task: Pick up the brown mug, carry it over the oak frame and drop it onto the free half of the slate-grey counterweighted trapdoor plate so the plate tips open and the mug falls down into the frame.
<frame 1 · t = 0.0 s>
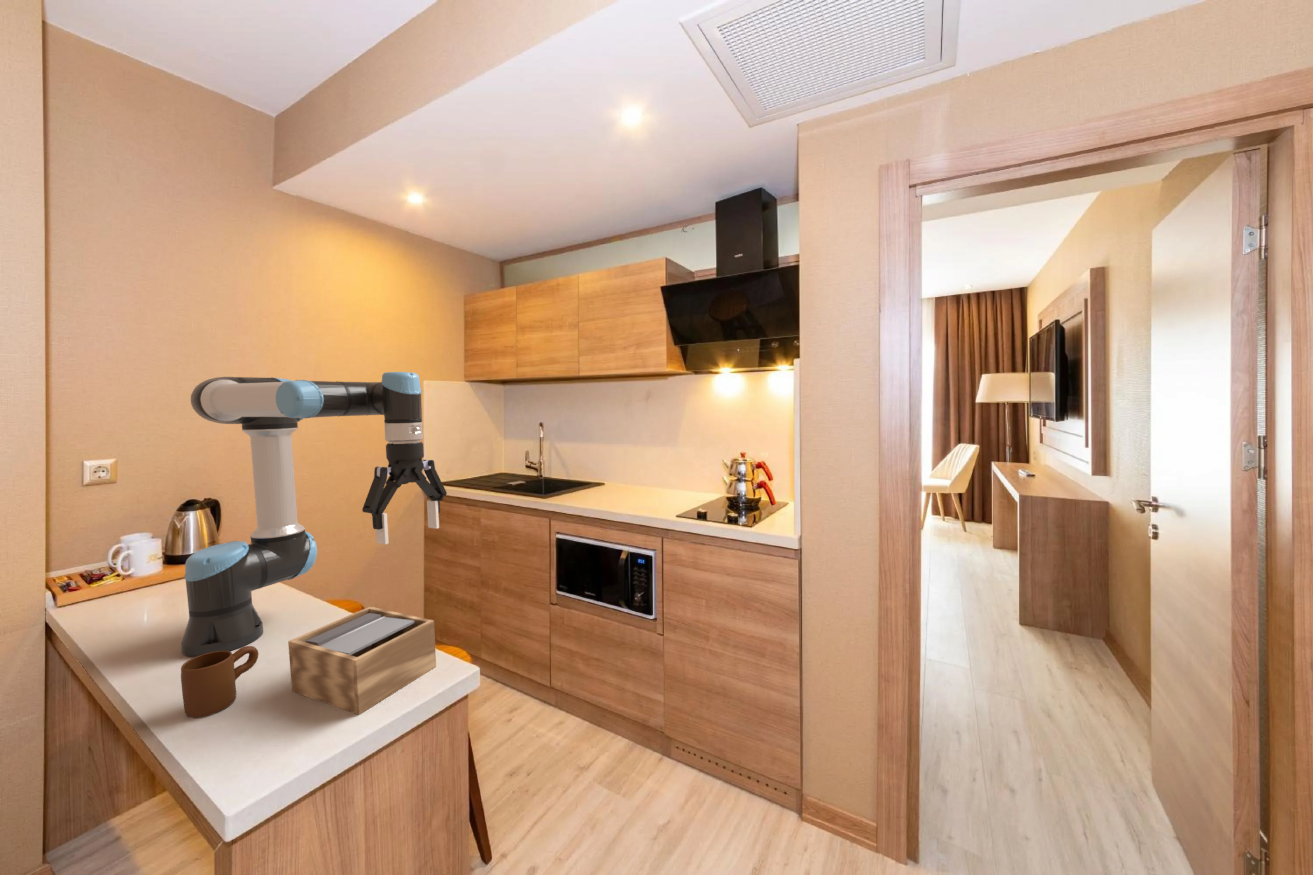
hand: (409, 535, 113), 28 cm above the counter, fingers open, 13 cm apart
mug: (225, 701, 98), on the counter
trapdoor: (361, 638, 105), point 9 cm above the counter, hinge at 4.0°
trapdoor frame: (366, 678, 106), on the counter
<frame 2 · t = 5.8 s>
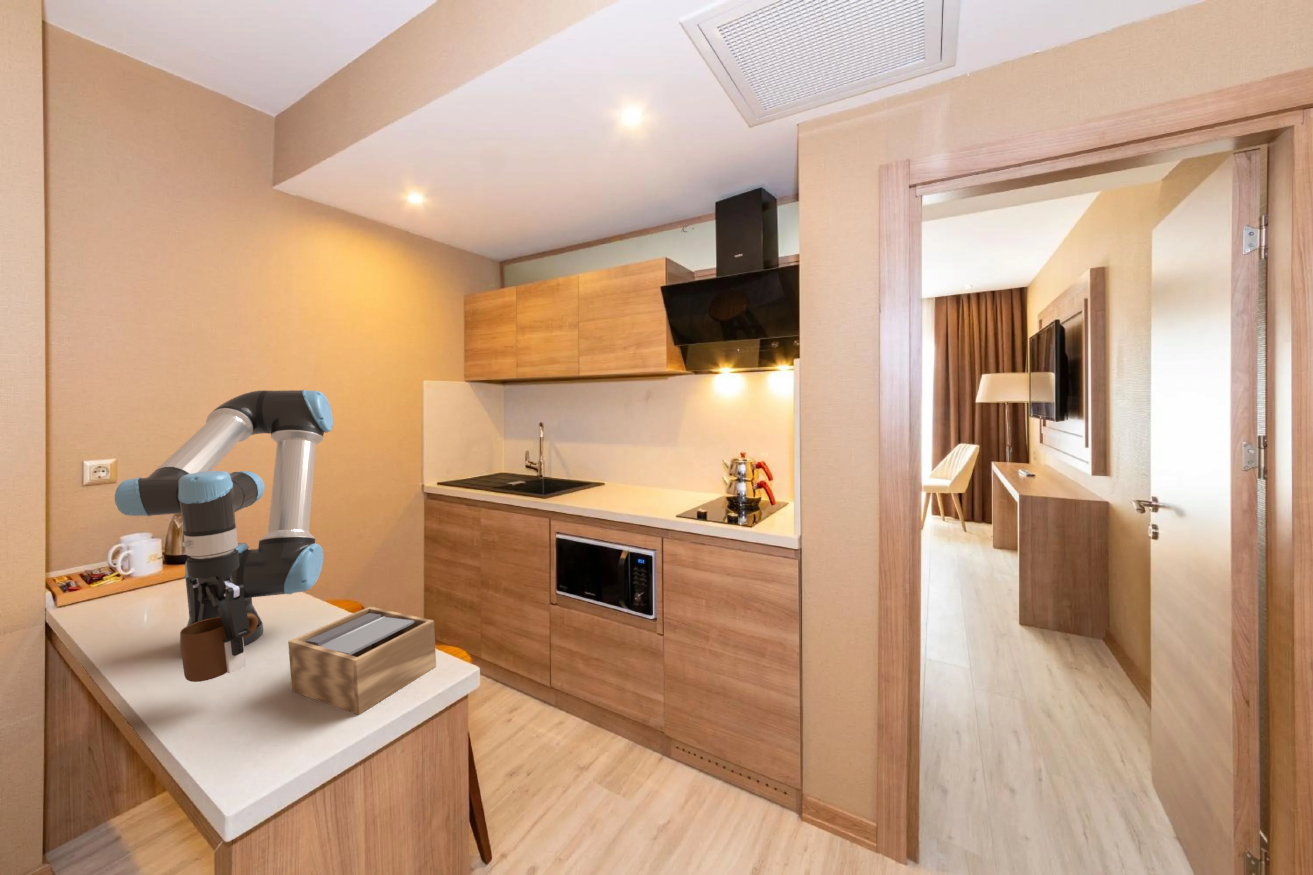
hand: (224, 664, 99), 7 cm above the counter, fingers closed on mug, 7 cm apart
mug: (225, 666, 99), point 6 cm above the counter, touching gripper
everything else where it was.
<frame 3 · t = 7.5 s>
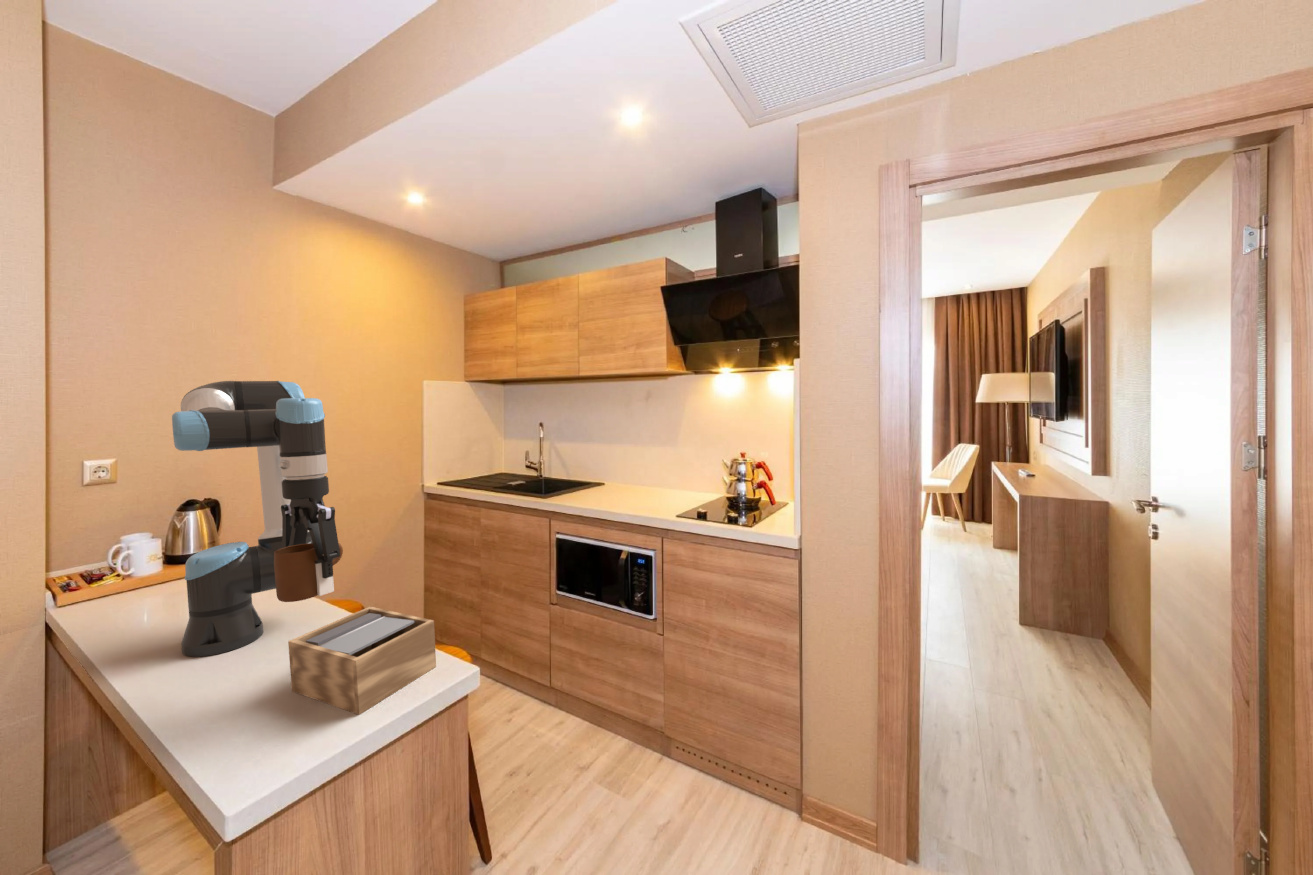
hand: (313, 590, 100), 21 cm above the counter, fingers closed on mug, 7 cm apart
mug: (313, 592, 100), point 20 cm above the counter, touching gripper
everything else where it was.
when the fingers open (12 cm above the counter, at t = 9.6 s): mug drops 5 cm, resting on trapdoor.
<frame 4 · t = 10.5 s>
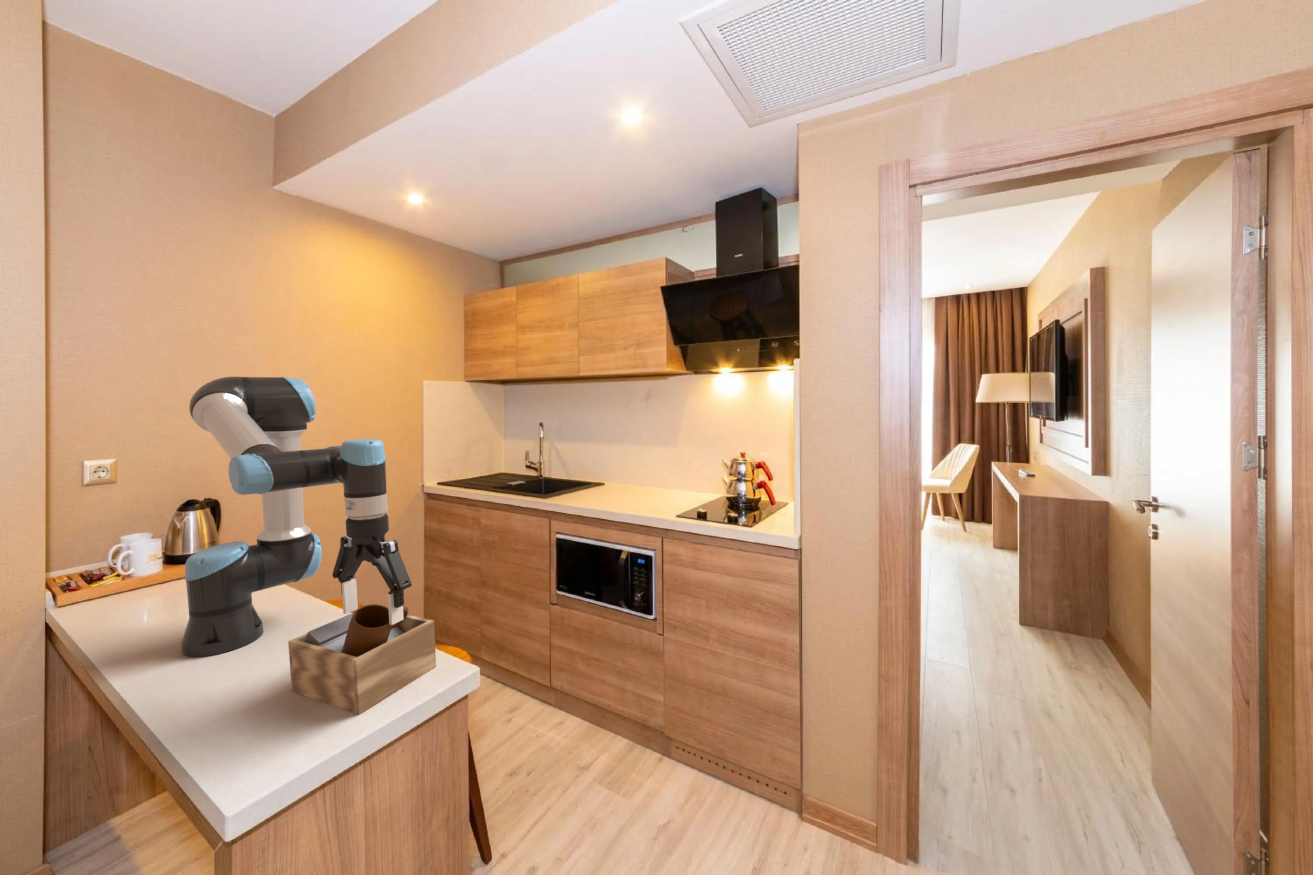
hand: (373, 616, 103), 14 cm above the counter, fingers open, 13 cm apart
mug: (372, 649, 104), point 7 cm above the counter, touching gripper, trapdoor
trapdoor: (359, 642, 106), point 7 cm above the counter, hinge at -24.9°, touching mug
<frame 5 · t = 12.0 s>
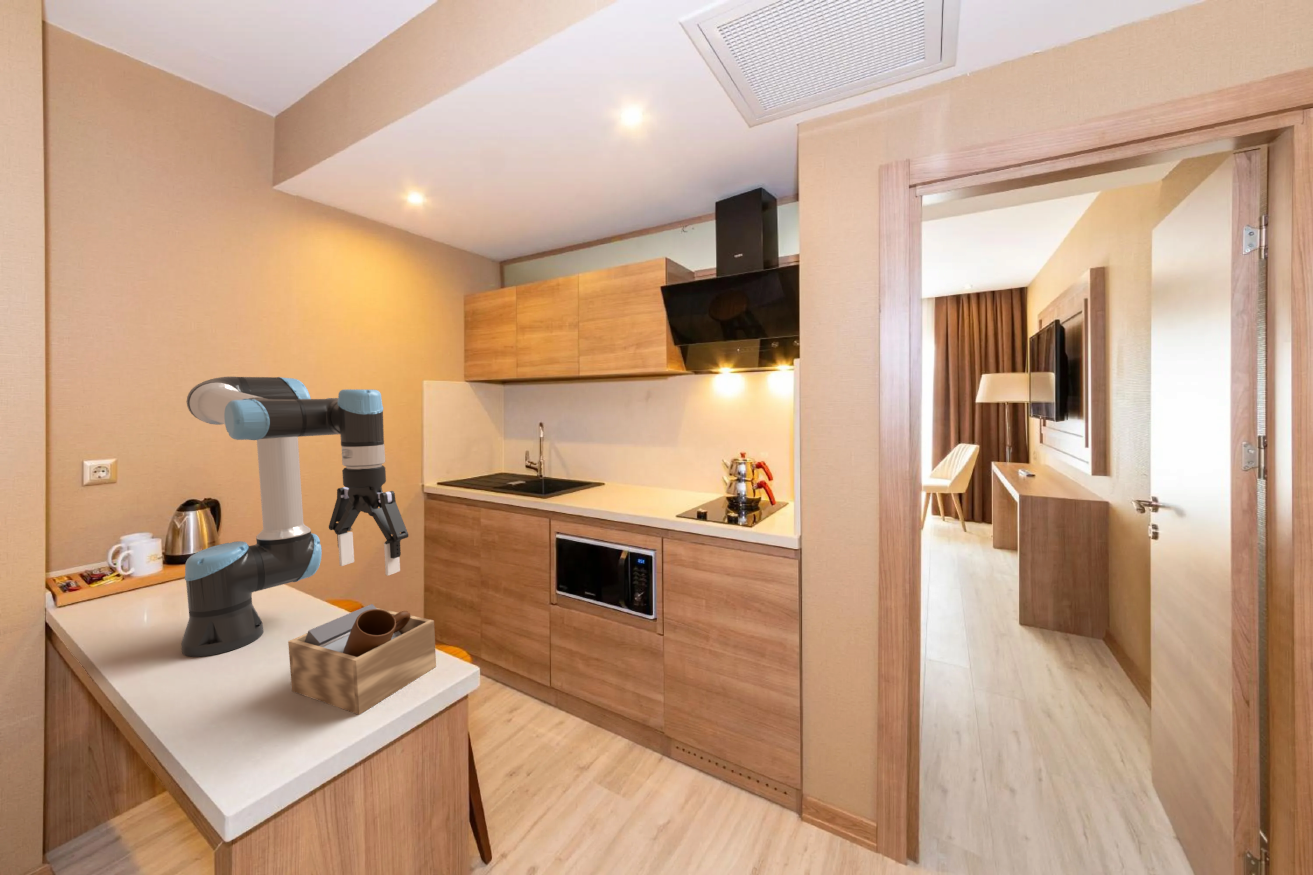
hand: (369, 568, 103), 24 cm above the counter, fingers open, 13 cm apart
mug: (372, 652, 104), point 6 cm above the counter, touching trapdoor, trapdoor frame
trapdoor: (359, 643, 106), point 7 cm above the counter, hinge at -31.2°, touching mug
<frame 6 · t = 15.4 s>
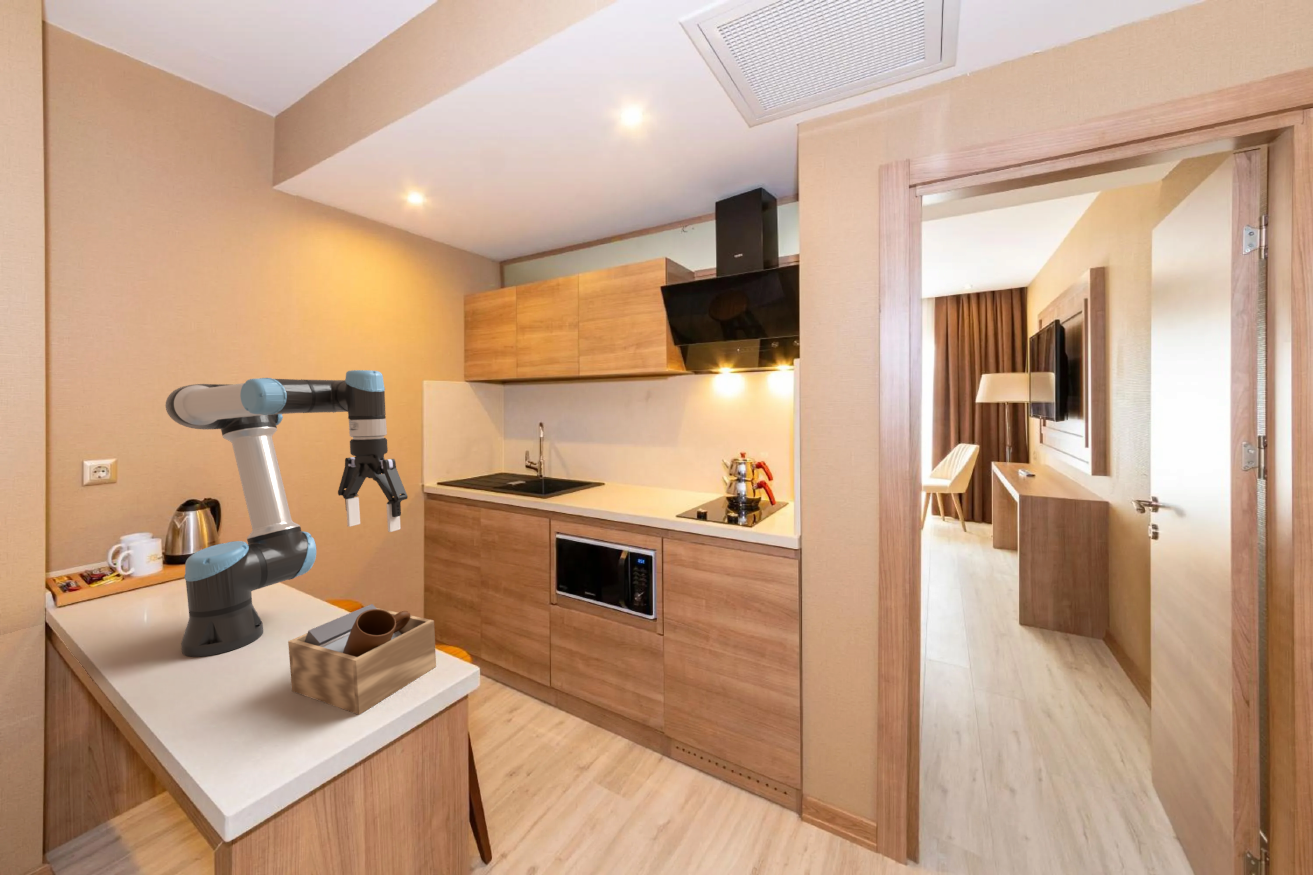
hand: (373, 527, 117), 29 cm above the counter, fingers open, 13 cm apart
nothing on the counter moved.
at the end: mug inside the target area on the trapdoor frame (2.3 cm from its centre), point 6.1 cm above the trapdoor frame's base; the gripper is holding nothing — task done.
